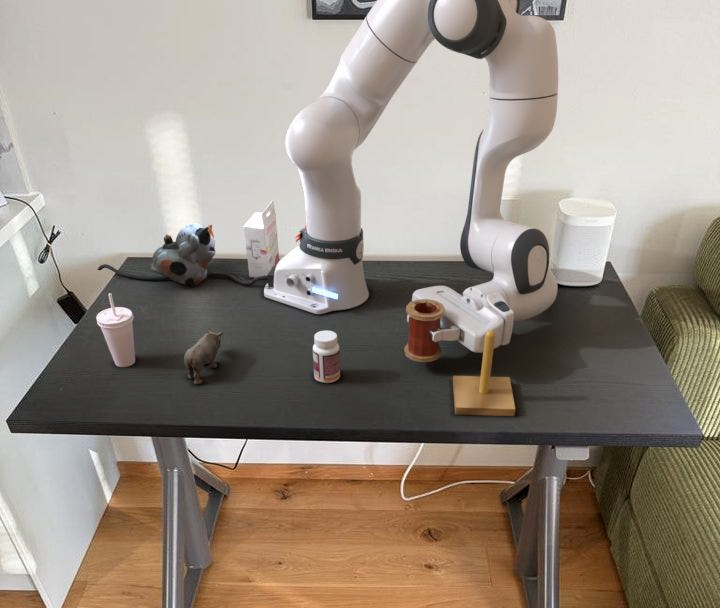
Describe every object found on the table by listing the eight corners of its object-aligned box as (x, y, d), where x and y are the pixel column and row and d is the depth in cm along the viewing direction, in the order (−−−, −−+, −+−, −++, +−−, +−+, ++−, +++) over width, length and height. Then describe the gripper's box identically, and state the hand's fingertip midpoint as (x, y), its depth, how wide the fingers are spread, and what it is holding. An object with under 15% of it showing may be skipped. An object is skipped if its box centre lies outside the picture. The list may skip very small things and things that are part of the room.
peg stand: (454, 414, 129) (461, 345, 120) (452, 382, 137) (458, 315, 128) (514, 416, 129) (525, 347, 120) (508, 384, 136) (518, 316, 128)
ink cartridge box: (259, 261, 176) (253, 197, 167) (280, 263, 175) (275, 199, 166) (247, 277, 170) (241, 212, 160) (269, 279, 169) (263, 214, 159)
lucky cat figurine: (160, 262, 176) (181, 204, 170) (209, 285, 177) (230, 228, 172) (139, 271, 162) (160, 209, 157) (191, 296, 163) (214, 235, 158)
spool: (399, 357, 138) (401, 312, 132) (412, 340, 142) (414, 296, 137) (434, 365, 136) (437, 319, 130) (445, 347, 140) (449, 303, 135)
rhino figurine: (233, 348, 146) (229, 320, 142) (202, 386, 136) (198, 357, 132) (213, 345, 147) (209, 317, 143) (181, 383, 137) (176, 353, 133)
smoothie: (112, 374, 139) (94, 304, 130) (103, 358, 143) (86, 289, 134) (146, 365, 141) (131, 296, 132) (137, 349, 146) (122, 281, 137)
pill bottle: (343, 372, 139) (343, 331, 134) (334, 385, 136) (333, 344, 131) (319, 367, 141) (318, 327, 135) (310, 381, 137) (307, 339, 132)
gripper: (449, 272, 146) (388, 289, 140) (520, 316, 132) (456, 337, 127) (446, 302, 150) (387, 320, 144) (515, 347, 136) (453, 369, 131)
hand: (420, 328), depth 135 cm, fingers closed on spool, 5 cm apart
